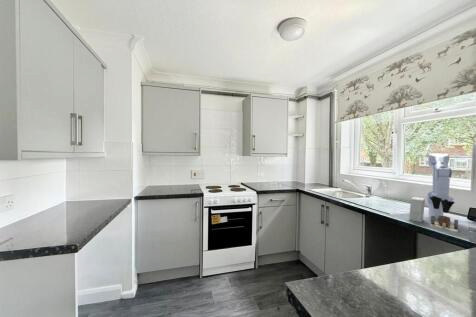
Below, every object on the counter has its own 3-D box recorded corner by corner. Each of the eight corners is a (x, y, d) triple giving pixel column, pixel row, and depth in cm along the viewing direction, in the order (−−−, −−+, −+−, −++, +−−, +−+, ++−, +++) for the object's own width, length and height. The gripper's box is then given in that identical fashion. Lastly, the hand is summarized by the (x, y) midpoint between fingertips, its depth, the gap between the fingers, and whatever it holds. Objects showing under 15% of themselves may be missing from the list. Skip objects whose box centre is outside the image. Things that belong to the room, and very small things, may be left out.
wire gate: (431, 222, 125) (431, 215, 125) (457, 228, 117) (458, 219, 117) (430, 224, 123) (431, 216, 123) (457, 229, 115) (458, 221, 115)
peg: (438, 226, 119) (439, 221, 119) (449, 228, 116) (449, 223, 116) (438, 228, 116) (438, 223, 116) (449, 230, 113) (449, 225, 113)
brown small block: (438, 222, 127) (438, 215, 127) (449, 224, 123) (450, 217, 123) (438, 224, 123) (438, 216, 123) (449, 226, 120) (450, 218, 120)
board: (431, 221, 130) (431, 220, 130) (457, 226, 122) (457, 225, 122) (430, 227, 119) (430, 226, 119) (458, 233, 111) (458, 232, 111)
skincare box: (411, 218, 136) (413, 196, 135) (423, 220, 131) (425, 198, 131) (408, 220, 131) (410, 198, 130) (421, 223, 126) (422, 200, 125)
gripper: (426, 185, 128) (424, 206, 129) (443, 189, 114) (441, 213, 115) (439, 186, 126) (438, 207, 127) (458, 190, 112) (456, 214, 113)
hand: (440, 210), depth 121 cm, fingers open, 7 cm apart
